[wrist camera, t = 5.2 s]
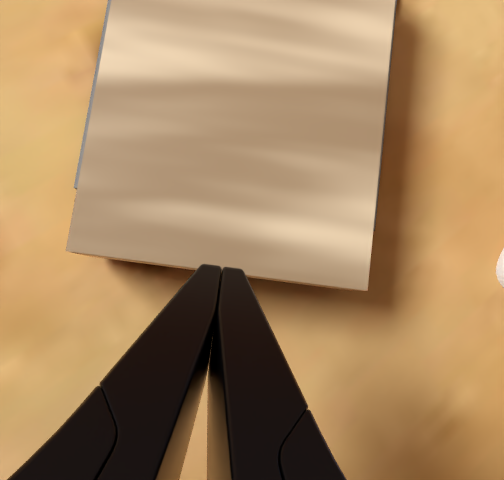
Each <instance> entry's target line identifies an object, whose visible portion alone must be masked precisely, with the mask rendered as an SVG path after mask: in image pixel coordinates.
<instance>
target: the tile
mask: <svg viewBox="0 0 504 480" xmlns="http://www.w3.org/2000/svg"><path fill="white" fill-rule="evenodd" d="M394 9H395V0H111V5H110V10H109V16H108V21H107V27H106V32H105V38H104V43H103V49H102V54H101V60H100V65H99V71H98V76H97V82H96V87H95V93H94V98H93V104H92V109H91V115H90V120H89V126H88V131H87V137H86V142H85V148H84V153H83V159H82V164H81V170H80V175H79V181H78V186H77V192H76V197H75V203H74V208H73V214H72V219H71V225H70V230H69V236H68V241H67V247H66V251H68V252H72V253H77V254H82V255H86V256H92V257H99V258H107V259H114V260H122V261H130V262H137V263H145V264H152V265H160V266H168V267H175V268H183V269H190V270H197V269H198V267H199V266H200V265H202V264H211V265H218V266H220V267H221V268H222V269H223V267H233V268H240V269H242V270H243V271H244V272H245V275H246V277H251V278H259V279H266V280H274V281H282V282H289V283H297V284H304V285H312V286H320V287H327V288H335V289H342V290H360V291H368V281H369V270H370V260H371V249H372V239H373V228H374V218H375V208H376V197H377V187H378V176H379V166H380V155H381V145H382V134H383V124H384V114H385V103H386V93H387V82H388V72H389V61H390V51H391V40H392V30H393V20H394ZM221 273H222V272H221Z"/></svg>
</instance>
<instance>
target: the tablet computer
mask: <svg viewBox="0 0 504 480" xmlns="http://www.w3.org/2000/svg"><path fill="white" fill-rule="evenodd" d="M496 274H497V278H498V281H499V282H500V284H501V285H502V286H503V288H504V249H503V251H502V253H501V255H500V257H499V259H498V262H497V267H496Z"/></svg>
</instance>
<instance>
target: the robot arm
mask: <svg viewBox="0 0 504 480" xmlns="http://www.w3.org/2000/svg"><path fill="white" fill-rule="evenodd" d="M221 272H222V273H221ZM211 345H212V346H211ZM210 352H211V353H210ZM209 359H210V361H209ZM208 365H209V370H208ZM207 371H208V417H207V480H346V478H345V476H344V474H343V473H342V471H341V469H340V468H339V466H338V464H337V462H336V461H335V459H334V457H333V455H332V453H331V451H330V449H329V447H328V445H327V443H326V441H325V439H324V437H323V436H322V434H321V432H320V430H319V428H318V425H317V423H316V421H315V419H314V417H313V415H312V413H311V411H310V410H307V409H308V405H307V403H306V401H305V399H304V396H303V394H302V392H301V390H300V388H299V386H298V384H297V382H296V380H295V378H294V375H293V373H292V371H291V369H290V367H289V365H288V363H287V361H286V359H285V356H284V354H283V352H282V350H281V348H280V346H279V344H278V342H277V340H276V338H275V335H274V333H273V331H272V329H271V327H270V325H269V323H268V321H267V319H266V317H265V314H264V312H263V310H262V308H261V306H260V304H259V302H258V300H257V298H256V296H255V293H254V291H253V289H252V287H251V285H250V283H249V281H248V279H247V277H246V275H245V272H244V271H243V270H242V269H240V268H233V267H223V269H222V268H221V267H220V266H218V265H211V264H202V265H200V266H199V267H198V269H197V270H196V271H195V272H194V273H193V274H192V276H191V277H190V278H189V279H188V280H187V281H186V283H185V284H184V285H183V286H182V287H181V288H180V290H179V291H178V292H177V293H176V294H175V295H174V297H173V298H172V299H171V300H170V301H169V302H168V304H167V305H166V306H165V307H164V308H163V309H162V311H161V312H160V313H159V314H158V315H157V316H156V318H155V319H154V320H153V321H152V322H151V324H150V325H149V326H148V327H147V328H146V329H145V331H144V332H143V333H142V334H141V335H140V336H139V338H138V339H137V340H136V341H135V342H134V343H133V345H132V346H131V347H130V348H129V349H128V350H127V352H126V353H125V354H124V355H123V356H122V357H121V359H120V360H119V361H118V362H117V363H116V364H115V366H114V367H113V368H112V369H111V370H110V371H109V373H108V374H107V375H106V376H105V377H104V378H103V380H102V381H101V382H100V386H97V387H96V388H95V389H94V390H93V391H92V392H91V393H90V395H89V396H88V397H87V398H86V399H85V400H84V402H83V403H82V404H81V405H80V406H79V407H78V408H77V409H76V411H75V412H74V413H73V414H72V415H71V416H70V417H69V418H68V419H67V420H66V422H65V423H64V424H63V425H62V426H61V427H60V428H59V429H58V430H57V431H56V432H55V433H54V434H53V435H52V436H51V437H50V438H49V439H48V440H47V441H46V442H45V443H44V444H43V445H42V446H41V447H40V448H39V449H38V450H37V451H36V452H35V453H34V454H33V455H32V456H31V457H30V458H29V459H28V460H27V461H26V462H25V463H24V464H23V465H22V466H21V467H20V468H19V469H18V470H17V471H16V472H15V473H14V474H13V475H12V476H10V477H9V478H8V479H7V480H179V478H180V474H181V471H182V467H183V463H184V459H185V456H186V452H187V448H188V444H189V440H190V437H191V433H192V429H193V425H194V422H195V418H196V414H197V410H198V407H199V403H200V399H201V395H202V392H203V388H204V384H205V380H206V376H207Z"/></svg>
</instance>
